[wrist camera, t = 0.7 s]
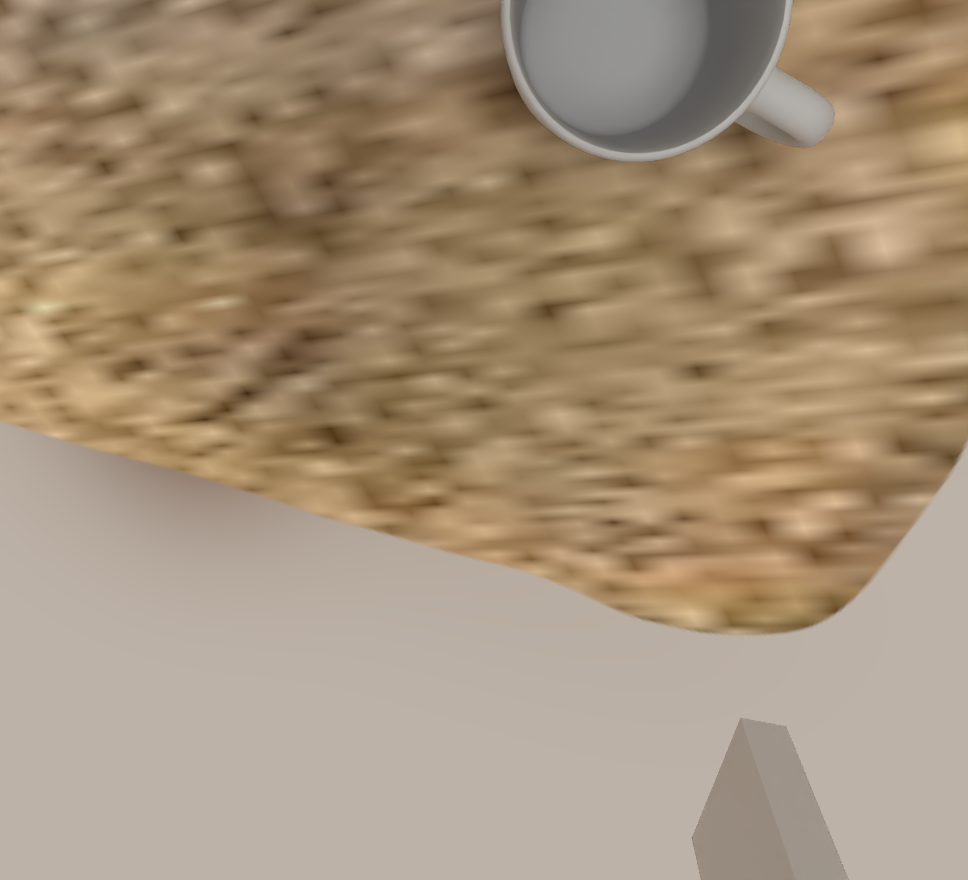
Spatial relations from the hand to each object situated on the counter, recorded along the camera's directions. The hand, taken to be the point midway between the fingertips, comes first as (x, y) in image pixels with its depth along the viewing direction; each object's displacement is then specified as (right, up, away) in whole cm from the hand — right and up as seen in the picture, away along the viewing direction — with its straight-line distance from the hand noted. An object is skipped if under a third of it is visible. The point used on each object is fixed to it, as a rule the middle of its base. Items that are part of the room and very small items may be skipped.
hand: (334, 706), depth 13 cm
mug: (+9, +20, +20) cm, 30 cm away
